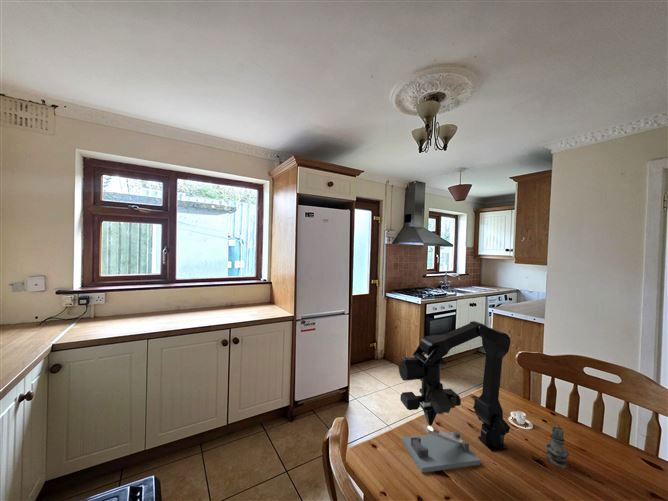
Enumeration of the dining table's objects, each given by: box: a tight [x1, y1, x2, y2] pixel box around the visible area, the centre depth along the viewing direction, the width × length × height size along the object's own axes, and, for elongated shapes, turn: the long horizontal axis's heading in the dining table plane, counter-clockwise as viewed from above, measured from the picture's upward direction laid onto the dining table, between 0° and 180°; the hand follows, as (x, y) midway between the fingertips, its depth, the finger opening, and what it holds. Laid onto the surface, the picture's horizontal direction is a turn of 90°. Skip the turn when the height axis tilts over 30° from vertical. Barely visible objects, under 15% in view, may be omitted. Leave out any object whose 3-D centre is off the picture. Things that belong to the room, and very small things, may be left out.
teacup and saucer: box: [508, 410, 534, 430], centre depth 105 cm, size 9×8×4 cm
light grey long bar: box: [422, 423, 465, 448], centre depth 88 cm, size 15×3×2 cm, turn 100°
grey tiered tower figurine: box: [545, 423, 570, 469], centre depth 85 cm, size 6×6×12 cm
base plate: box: [402, 431, 481, 474], centre depth 88 cm, size 20×13×4 cm, turn 100°
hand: (429, 424), depth 87 cm, fingers closed
